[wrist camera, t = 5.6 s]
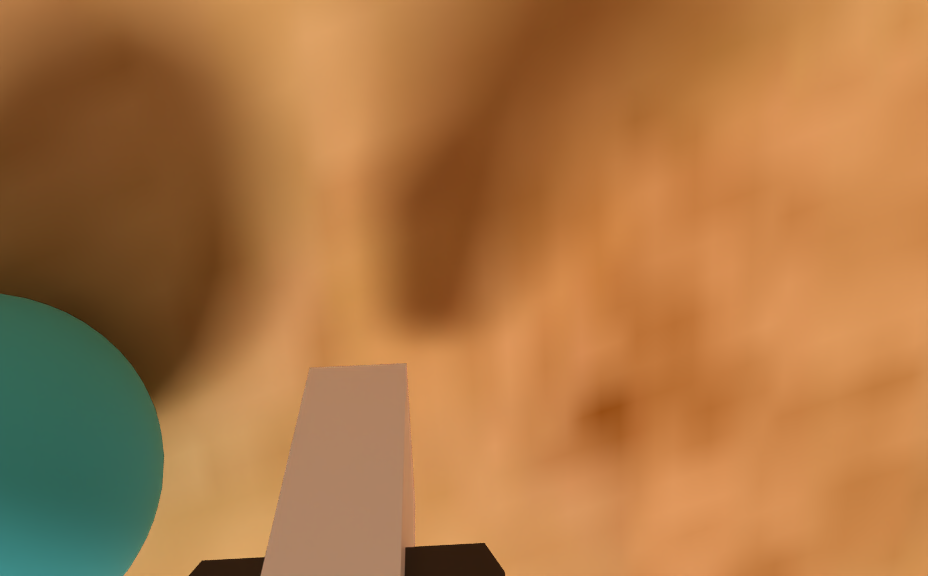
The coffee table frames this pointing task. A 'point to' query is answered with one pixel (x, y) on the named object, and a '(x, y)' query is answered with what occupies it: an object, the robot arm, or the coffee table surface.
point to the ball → (72, 447)
